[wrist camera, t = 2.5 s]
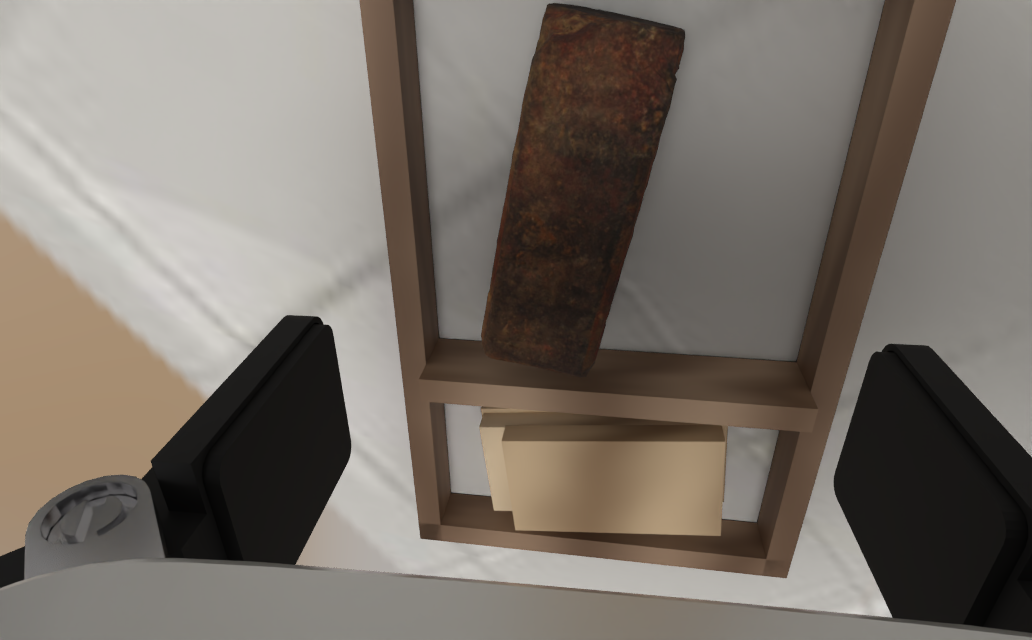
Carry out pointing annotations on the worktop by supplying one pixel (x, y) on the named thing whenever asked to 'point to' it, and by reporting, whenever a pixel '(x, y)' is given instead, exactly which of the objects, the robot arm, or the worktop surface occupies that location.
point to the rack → (643, 375)
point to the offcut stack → (604, 472)
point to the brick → (577, 183)
